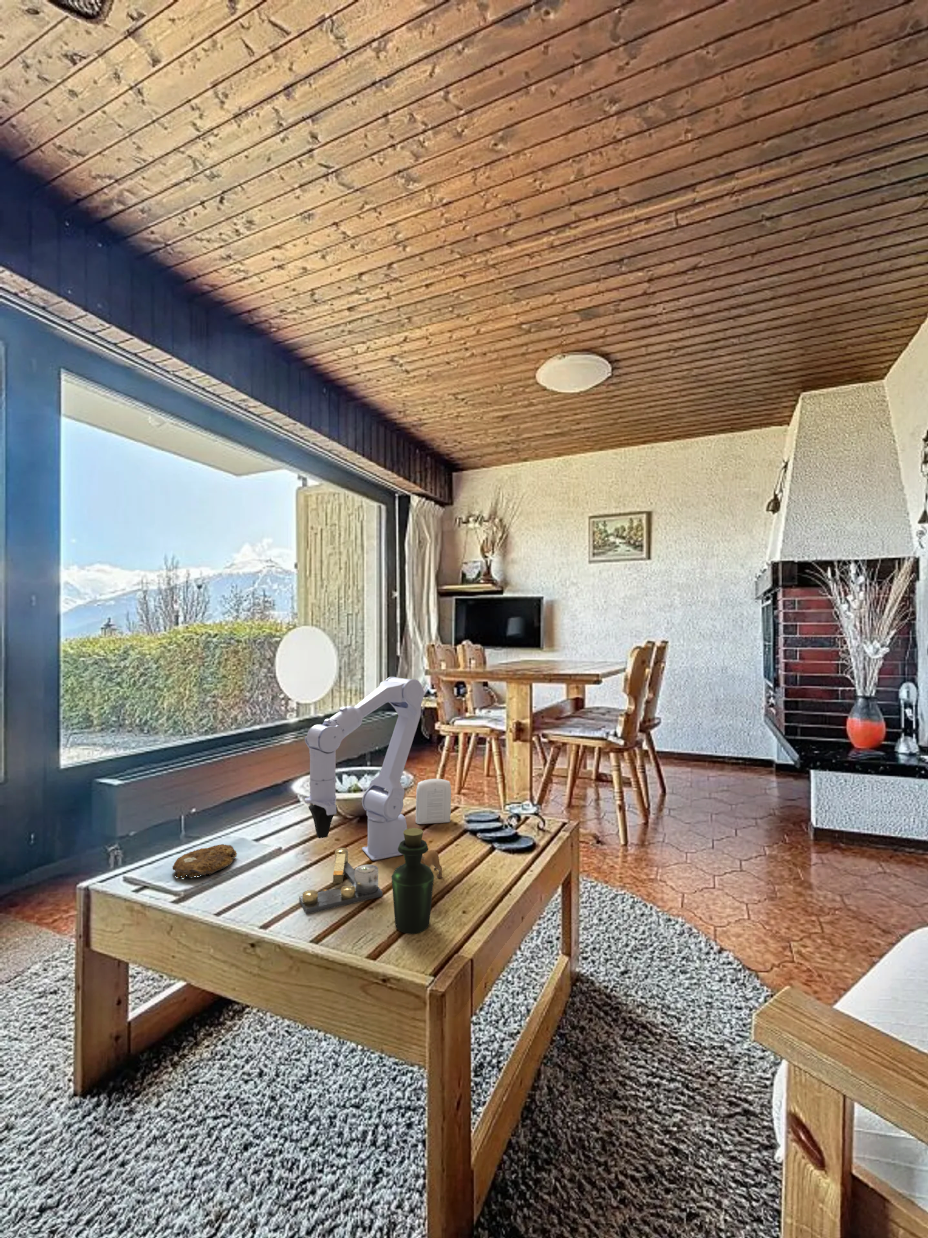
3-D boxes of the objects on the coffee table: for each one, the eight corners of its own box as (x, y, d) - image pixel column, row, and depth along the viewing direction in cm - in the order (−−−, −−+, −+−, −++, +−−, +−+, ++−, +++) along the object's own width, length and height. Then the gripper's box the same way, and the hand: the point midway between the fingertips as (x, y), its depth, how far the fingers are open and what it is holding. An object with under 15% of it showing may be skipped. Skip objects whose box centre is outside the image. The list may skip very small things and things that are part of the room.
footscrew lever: (335, 861, 139) (335, 848, 139) (348, 860, 140) (348, 847, 140) (330, 889, 125) (330, 874, 125) (344, 888, 125) (344, 874, 125)
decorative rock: (212, 854, 145) (162, 881, 131) (211, 837, 145) (161, 863, 131) (249, 858, 141) (201, 887, 127) (248, 841, 141) (200, 868, 127)
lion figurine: (425, 903, 120) (425, 859, 120) (401, 899, 121) (401, 856, 121) (445, 873, 134) (446, 834, 134) (423, 870, 135) (424, 831, 135)
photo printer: (448, 818, 171) (449, 776, 171) (452, 823, 166) (452, 780, 166) (414, 820, 168) (414, 778, 168) (416, 826, 164) (417, 782, 164)
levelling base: (355, 864, 138) (355, 840, 138) (382, 896, 122) (382, 869, 122) (287, 878, 130) (287, 853, 130) (306, 914, 114) (306, 885, 114)
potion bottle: (389, 937, 107) (390, 840, 107) (392, 914, 115) (393, 824, 115) (433, 936, 107) (434, 839, 107) (433, 914, 115) (434, 824, 115)
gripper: (297, 772, 137) (297, 829, 137) (313, 788, 124) (313, 851, 124) (326, 768, 140) (326, 824, 140) (345, 784, 128) (345, 845, 128)
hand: (322, 837), depth 132 cm, fingers closed
